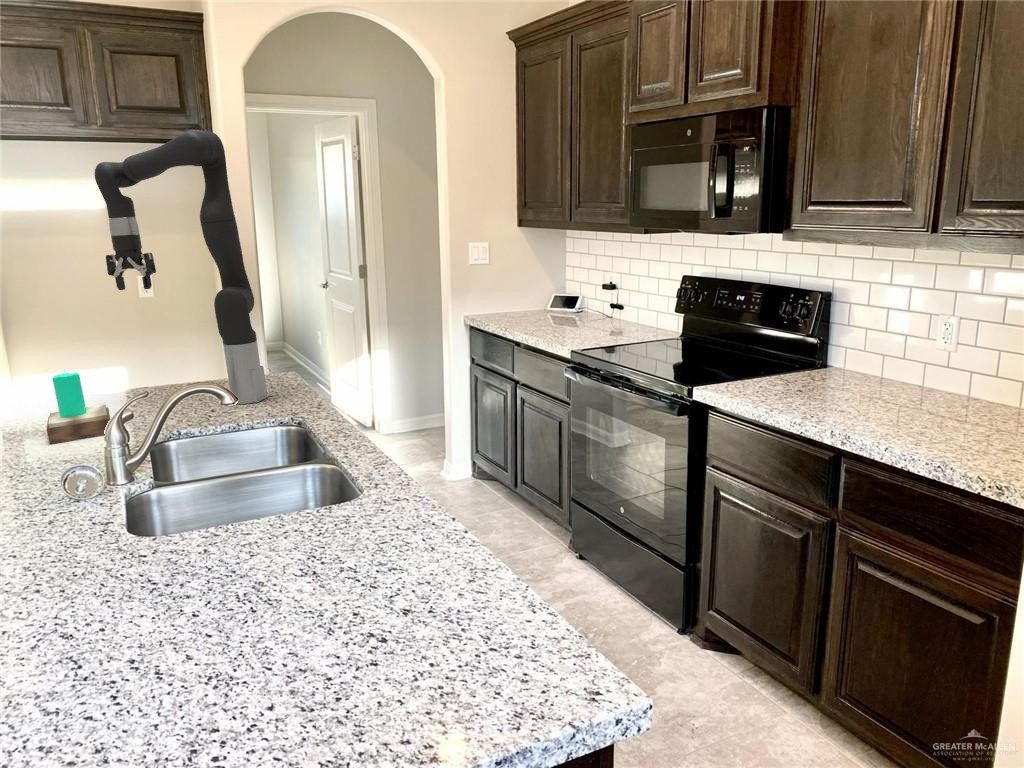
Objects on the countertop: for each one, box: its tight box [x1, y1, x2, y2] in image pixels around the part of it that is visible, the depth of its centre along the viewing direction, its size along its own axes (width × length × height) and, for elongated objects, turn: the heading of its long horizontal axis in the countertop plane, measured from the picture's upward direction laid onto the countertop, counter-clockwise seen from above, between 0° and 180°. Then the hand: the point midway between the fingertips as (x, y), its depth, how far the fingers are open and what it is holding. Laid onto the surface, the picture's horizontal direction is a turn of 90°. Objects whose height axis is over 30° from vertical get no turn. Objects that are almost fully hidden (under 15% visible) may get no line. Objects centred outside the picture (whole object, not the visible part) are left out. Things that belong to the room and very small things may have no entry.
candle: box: [52, 368, 87, 418], centre depth 194 cm, size 6×6×12 cm
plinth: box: [46, 404, 111, 445], centre depth 196 cm, size 14×14×5 cm
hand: (134, 289), depth 223 cm, fingers open, 8 cm apart
